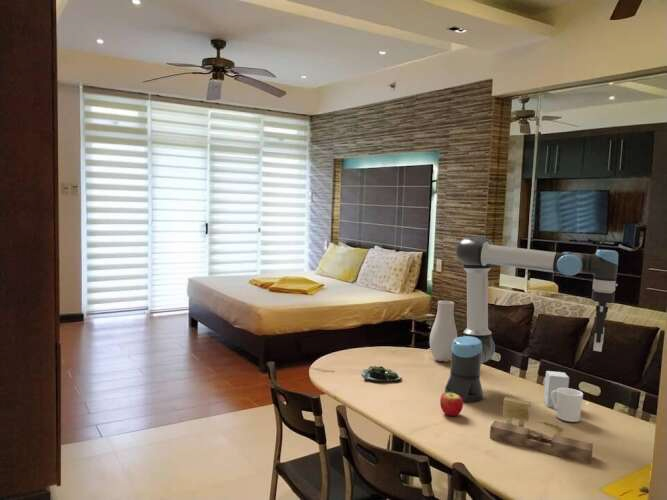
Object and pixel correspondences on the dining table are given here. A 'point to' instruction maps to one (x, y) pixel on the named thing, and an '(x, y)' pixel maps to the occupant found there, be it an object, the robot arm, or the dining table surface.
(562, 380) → the supplement box
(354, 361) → the dining table surface
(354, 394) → the dining table surface
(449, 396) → the apple
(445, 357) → the vase
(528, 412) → the beige block
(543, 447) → the rail
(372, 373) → the salad plate
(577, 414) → the mug
